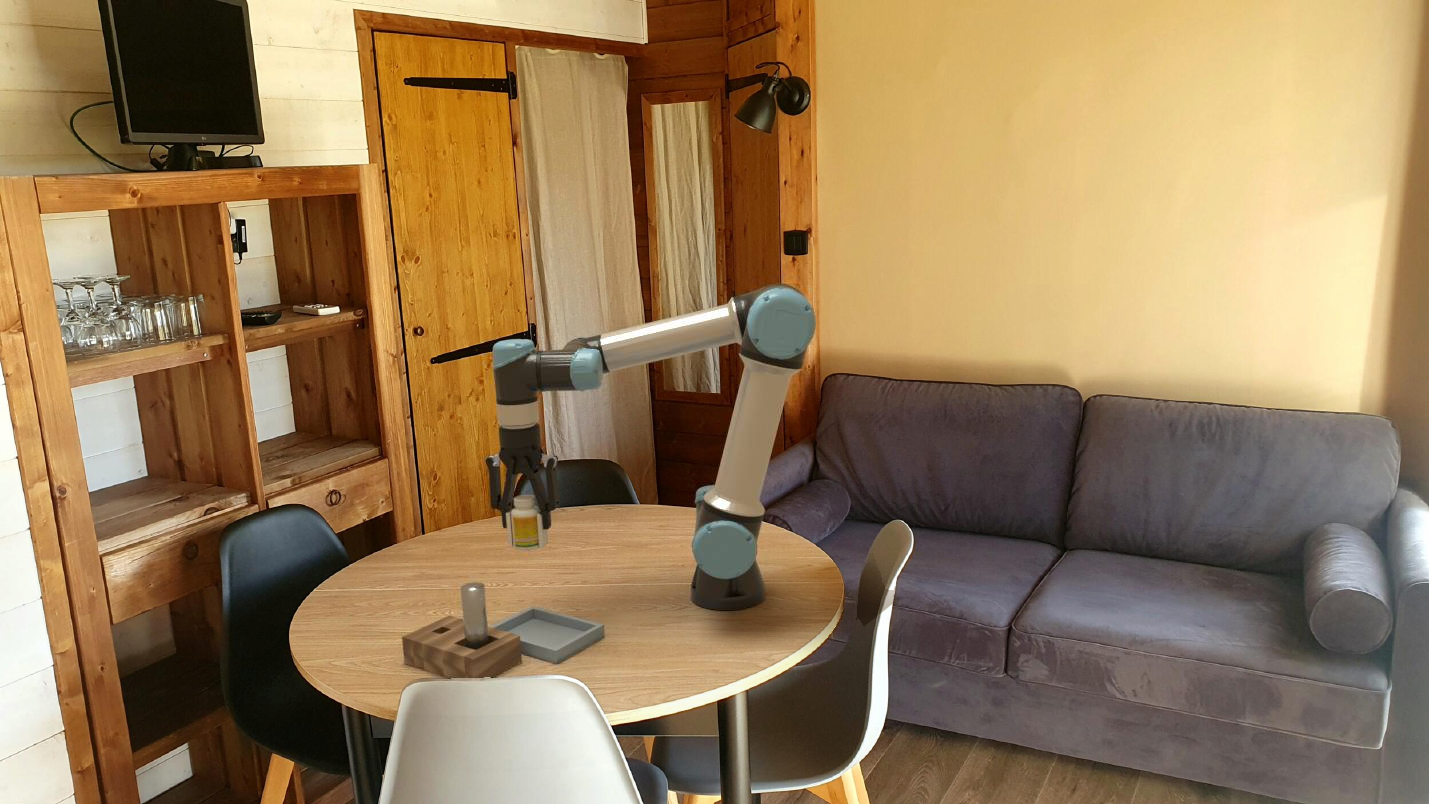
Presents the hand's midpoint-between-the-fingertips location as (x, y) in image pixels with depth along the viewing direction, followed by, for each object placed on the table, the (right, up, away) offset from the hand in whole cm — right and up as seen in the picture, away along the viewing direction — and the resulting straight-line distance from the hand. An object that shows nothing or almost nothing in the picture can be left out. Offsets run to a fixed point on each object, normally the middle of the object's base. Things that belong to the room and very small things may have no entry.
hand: (528, 544), depth 194 cm
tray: (+3, -17, -3) cm, 18 cm away
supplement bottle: (0, -1, 0) cm, 1 cm away
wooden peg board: (-10, -19, -11) cm, 24 cm away
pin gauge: (-6, -20, -13) cm, 25 cm away
